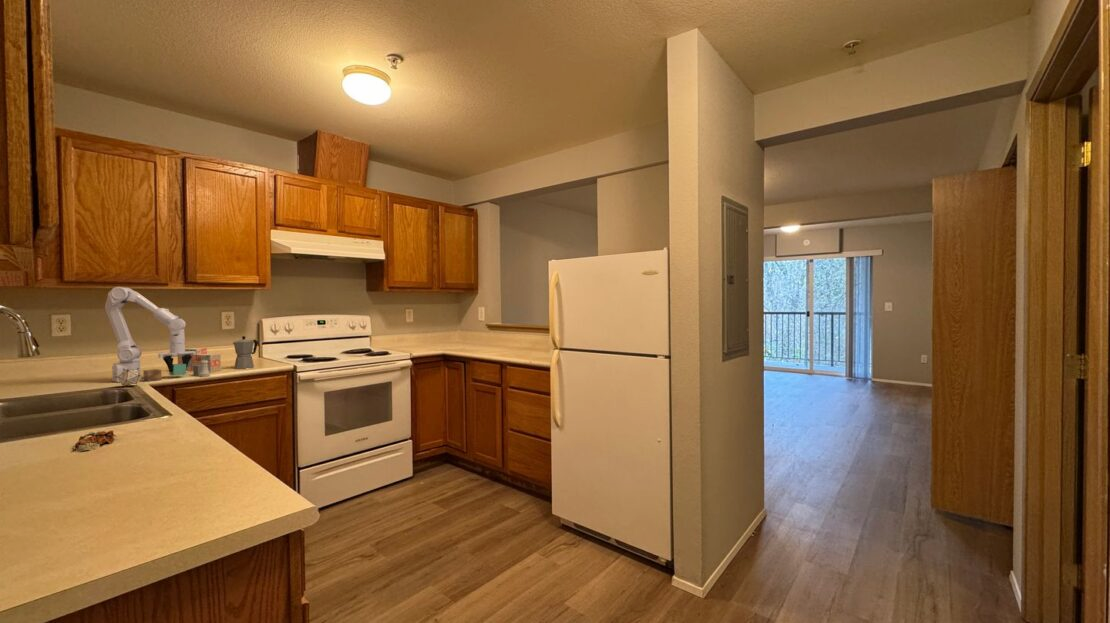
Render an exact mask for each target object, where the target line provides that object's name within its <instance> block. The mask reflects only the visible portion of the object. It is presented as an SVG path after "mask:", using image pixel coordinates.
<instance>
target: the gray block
mask: <svg viewBox="0 0 1110 623" xmlns="http://www.w3.org/2000/svg"><path fill="white" fill-rule="evenodd" d="M201 368H202V366H201V365H194V366H193V372H192V373H193V376H195V375H196V377H200V374H199V373H200V372H201ZM208 371H209V372H210V367H209V365H208ZM210 373H211V372H210Z"/></svg>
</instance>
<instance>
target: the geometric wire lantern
mask: <svg viewBox="0 0 1110 623" xmlns="http://www.w3.org/2000/svg"><path fill="white" fill-rule="evenodd" d="M138 369H139V368H137V369H131V370H128V369H127V370H125V369H123V370H124V371H123V372H122V373H121V374H120V375H119V376H118V379H119V381H120V382H119V383H120V384H121V386H122V385H130V386H132V385H131V384H136V385H137V384H138V383H139V382H140V381H142V380H141V379H143V380H144V376H143V377H142V375H141V372H140V373H139V371H138ZM116 377H117V376H116Z"/></svg>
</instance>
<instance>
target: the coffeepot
mask: <svg viewBox="0 0 1110 623" xmlns="http://www.w3.org/2000/svg"><path fill="white" fill-rule="evenodd" d="M241 337H242V339H239V340H236V341H233V342H232V345H234V349H235V350H234V351H235V354H236V357H235V363H234V368H233V369H235V368H236V369H235V370H247V369H246V368H250V369H253V367H254V368H255V366H254V361H253V356H252V355H254V354H256V351H257V347H258V344H259V342H258V340H257V339H246V336H245V335H243V336H241Z"/></svg>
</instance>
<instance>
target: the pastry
mask: <svg viewBox="0 0 1110 623" xmlns="http://www.w3.org/2000/svg"><path fill="white" fill-rule="evenodd" d="M115 437H116V438H117V435H116V434H114V430H108V431H105V430H101V429H100V430H98V431H96V432H93V431H90V432H89V433H85V434H84V435H81V436H80V437H79V439H78V441H77V442H76V443H75V444H74V447H73V448H72V452H75V453H80V452H85V451H91V452H92V451H96V450H97V449H100V446H101V445H102V444H105V443H106V442H107V443H109V444H113V443H114V442H115V440H114V438H115ZM113 441H114V442H113Z"/></svg>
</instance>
